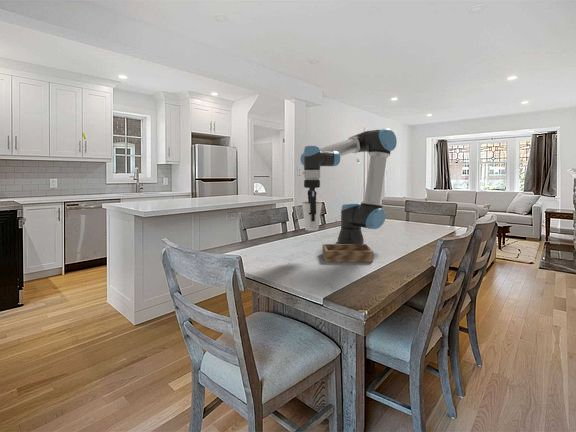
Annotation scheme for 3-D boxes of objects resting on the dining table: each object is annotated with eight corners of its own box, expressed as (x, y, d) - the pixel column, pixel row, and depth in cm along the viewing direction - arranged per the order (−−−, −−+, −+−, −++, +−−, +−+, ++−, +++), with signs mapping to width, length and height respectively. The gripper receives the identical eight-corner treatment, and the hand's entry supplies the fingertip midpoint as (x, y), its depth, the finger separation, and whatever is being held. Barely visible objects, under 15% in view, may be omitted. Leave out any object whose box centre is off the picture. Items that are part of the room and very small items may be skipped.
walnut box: (325, 261, 156) (326, 251, 155) (322, 253, 171) (322, 244, 170) (372, 261, 156) (373, 251, 155) (365, 253, 171) (365, 244, 170)
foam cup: (299, 230, 158) (299, 203, 156) (305, 227, 167) (305, 201, 165) (318, 231, 155) (319, 203, 153) (323, 228, 164) (324, 201, 162)
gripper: (302, 178, 168) (302, 222, 172) (305, 180, 146) (305, 230, 150) (317, 178, 168) (317, 222, 172) (322, 180, 147) (322, 230, 150)
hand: (311, 226), depth 161 cm, fingers closed on foam cup, 9 cm apart
